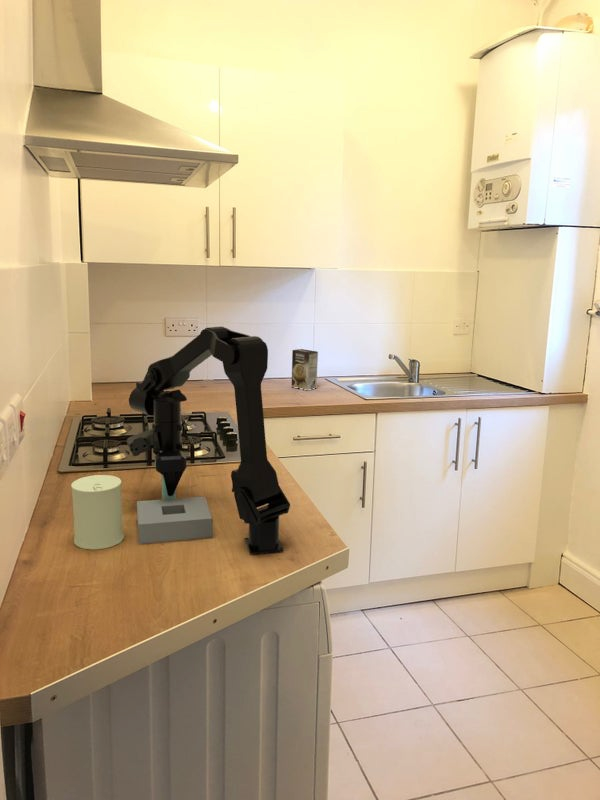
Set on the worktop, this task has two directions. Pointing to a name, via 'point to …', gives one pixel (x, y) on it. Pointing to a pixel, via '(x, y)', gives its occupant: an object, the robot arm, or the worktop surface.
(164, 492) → the peg
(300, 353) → the coffee box
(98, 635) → the worktop surface
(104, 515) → the can
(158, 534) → the hole block
